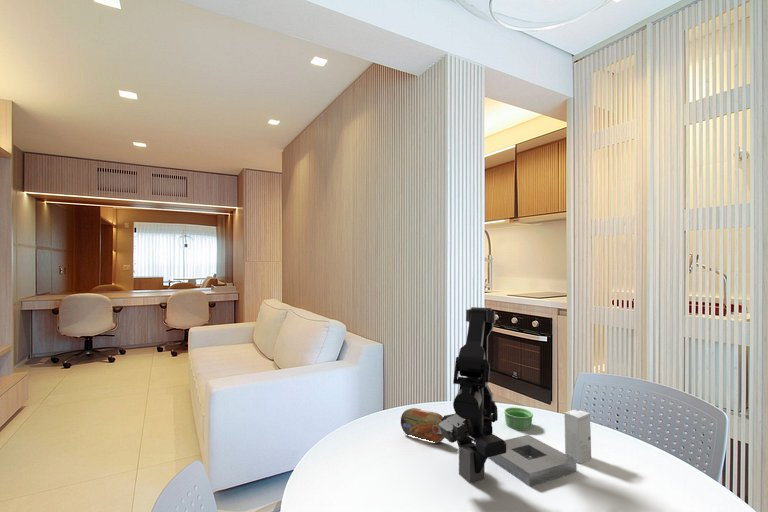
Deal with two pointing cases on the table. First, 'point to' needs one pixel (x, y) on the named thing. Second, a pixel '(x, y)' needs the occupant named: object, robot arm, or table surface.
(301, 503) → the table surface
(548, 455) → the square hole plate
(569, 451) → the skincare box
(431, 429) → the tin
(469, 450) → the tall grey square pillar
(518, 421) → the ramekin
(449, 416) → the robot arm
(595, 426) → the table surface
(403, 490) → the table surface
